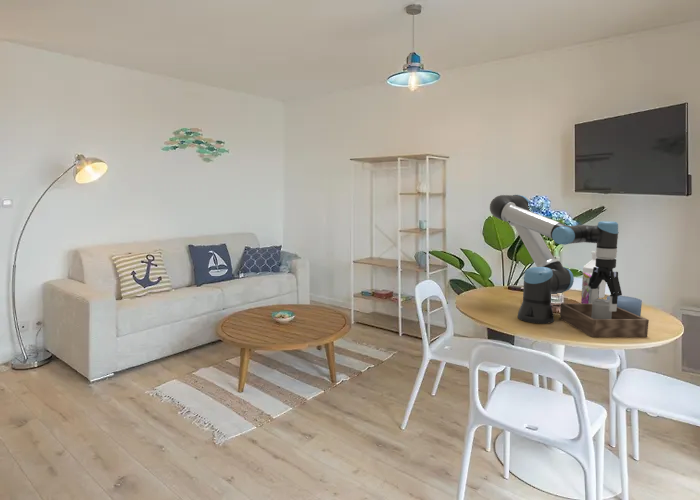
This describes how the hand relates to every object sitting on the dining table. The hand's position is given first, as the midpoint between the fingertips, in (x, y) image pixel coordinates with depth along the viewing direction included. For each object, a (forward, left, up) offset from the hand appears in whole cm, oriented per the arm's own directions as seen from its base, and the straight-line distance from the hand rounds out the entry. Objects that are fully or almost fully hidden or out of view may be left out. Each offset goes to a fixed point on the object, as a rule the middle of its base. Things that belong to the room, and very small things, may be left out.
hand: (602, 307), depth 188 cm
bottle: (+30, +59, -9) cm, 67 cm away
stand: (+21, +18, -9) cm, 29 cm away
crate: (0, 0, -9) cm, 9 cm away
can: (0, 0, -9) cm, 9 cm away
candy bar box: (+15, +36, -9) cm, 40 cm away
